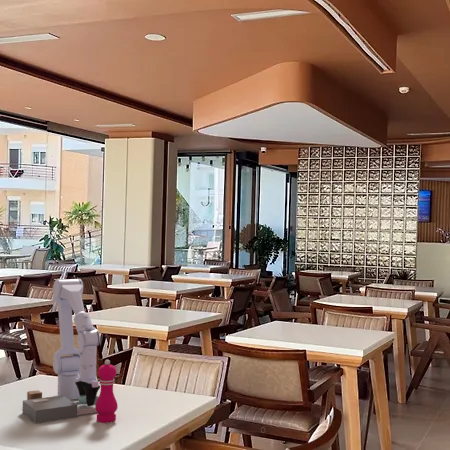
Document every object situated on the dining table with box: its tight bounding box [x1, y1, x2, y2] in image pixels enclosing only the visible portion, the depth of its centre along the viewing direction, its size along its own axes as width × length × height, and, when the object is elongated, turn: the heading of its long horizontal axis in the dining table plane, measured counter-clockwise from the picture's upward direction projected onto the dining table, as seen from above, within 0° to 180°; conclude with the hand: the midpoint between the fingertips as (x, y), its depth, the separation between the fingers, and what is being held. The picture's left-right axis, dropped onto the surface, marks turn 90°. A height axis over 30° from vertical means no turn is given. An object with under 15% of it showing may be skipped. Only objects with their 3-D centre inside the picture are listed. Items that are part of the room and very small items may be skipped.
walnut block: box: [26, 389, 43, 400], centre depth 231 cm, size 4×4×5 cm
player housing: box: [22, 395, 78, 424], centre depth 221 cm, size 14×14×4 cm
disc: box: [78, 395, 87, 404], centre depth 228 cm, size 5×5×2 cm
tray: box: [73, 394, 99, 416], centre depth 227 cm, size 14×14×3 cm
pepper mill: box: [95, 359, 118, 424], centre depth 216 cm, size 7×7×20 cm
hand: (87, 403), depth 228 cm, fingers closed on disc, 5 cm apart
